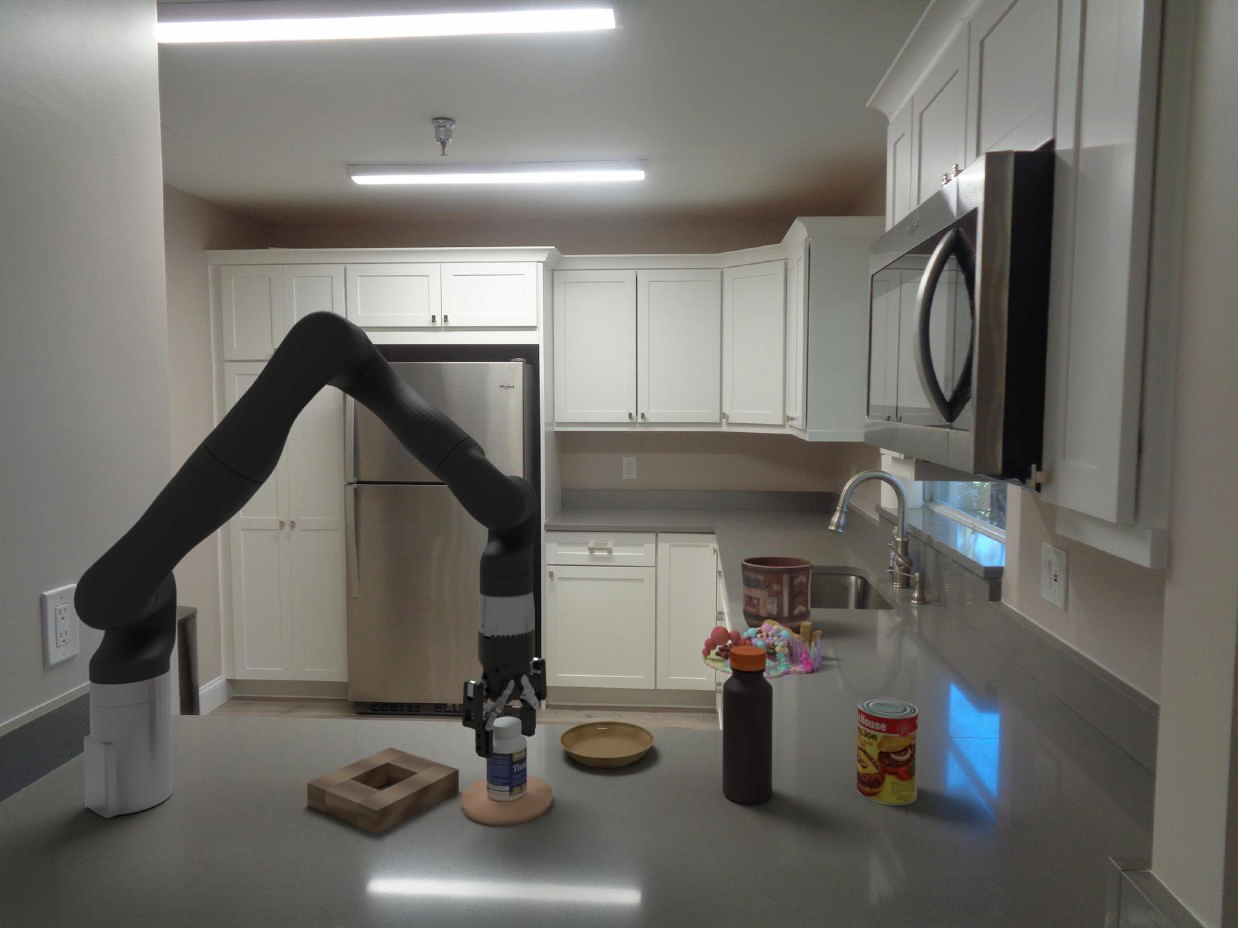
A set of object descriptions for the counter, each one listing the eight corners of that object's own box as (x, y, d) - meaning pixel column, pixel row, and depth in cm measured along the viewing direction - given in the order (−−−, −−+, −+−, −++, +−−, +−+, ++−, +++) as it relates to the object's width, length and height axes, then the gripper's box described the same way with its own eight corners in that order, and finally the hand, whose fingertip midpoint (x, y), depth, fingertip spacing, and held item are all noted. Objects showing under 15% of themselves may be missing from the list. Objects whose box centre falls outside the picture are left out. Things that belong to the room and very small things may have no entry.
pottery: (797, 644, 183) (798, 569, 182) (730, 634, 192) (730, 562, 192) (821, 629, 197) (822, 559, 197) (757, 620, 207) (758, 553, 206)
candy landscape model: (742, 642, 186) (742, 604, 185) (837, 658, 172) (837, 617, 172) (689, 667, 166) (689, 625, 165) (792, 688, 152) (792, 642, 151)
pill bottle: (519, 804, 100) (518, 730, 100) (480, 800, 102) (479, 727, 101) (532, 786, 106) (532, 715, 105) (495, 782, 107) (495, 713, 107)
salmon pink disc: (511, 834, 95) (511, 824, 95) (442, 808, 102) (442, 799, 102) (569, 796, 105) (569, 787, 105) (503, 775, 112) (503, 767, 112)
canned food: (848, 780, 110) (849, 697, 110) (901, 778, 111) (902, 696, 110) (870, 806, 102) (871, 717, 102) (927, 804, 103) (928, 716, 103)
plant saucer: (542, 765, 116) (542, 748, 116) (582, 730, 130) (582, 715, 129) (634, 781, 110) (634, 763, 110) (666, 743, 124) (666, 727, 124)
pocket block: (377, 834, 95) (377, 810, 95) (307, 804, 103) (307, 782, 103) (458, 790, 107) (458, 769, 107) (390, 767, 115) (390, 747, 114)
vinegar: (775, 786, 108) (776, 645, 108) (768, 808, 102) (769, 659, 101) (727, 779, 110) (728, 641, 110) (717, 800, 104) (718, 654, 103)
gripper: (519, 612, 111) (519, 723, 111) (447, 633, 99) (447, 757, 99) (561, 618, 107) (561, 734, 107) (491, 641, 95) (491, 771, 95)
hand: (506, 745), depth 103 cm, fingers open, 8 cm apart
